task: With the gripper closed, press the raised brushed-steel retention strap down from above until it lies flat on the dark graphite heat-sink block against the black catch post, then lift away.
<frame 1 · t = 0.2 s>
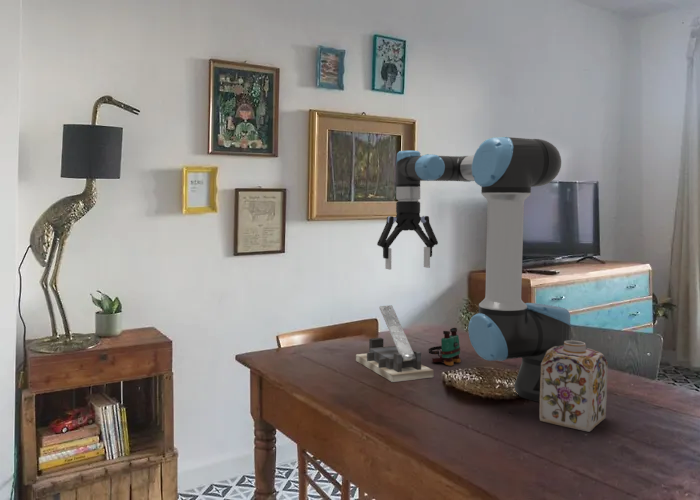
hand: (407, 268, 200), 28 cm above the table, tool pointing down, fingers open, 13 cm apart
retention strap: (397, 332, 184), point 11 cm above the table, hinge at 40.0°
decorative jar: (572, 421, 144), on the table
heatsink mount: (392, 368, 188), on the table
binoculars: (443, 362, 196), on the table
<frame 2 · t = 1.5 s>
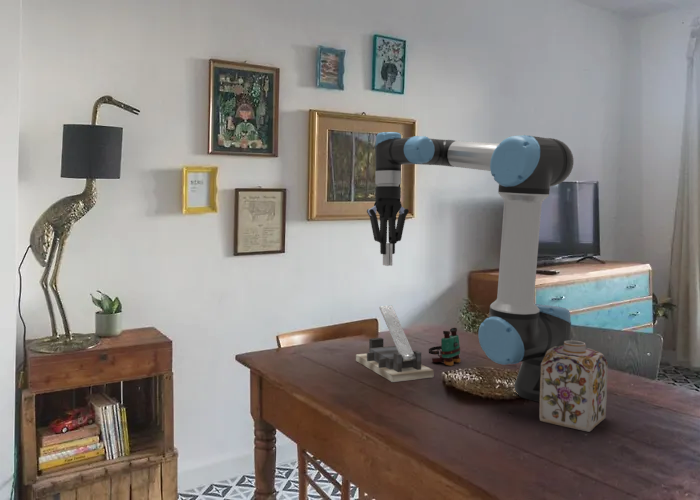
hand: (387, 265, 189), 30 cm above the table, tool pointing down, fingers closed
nothing on the table moved.
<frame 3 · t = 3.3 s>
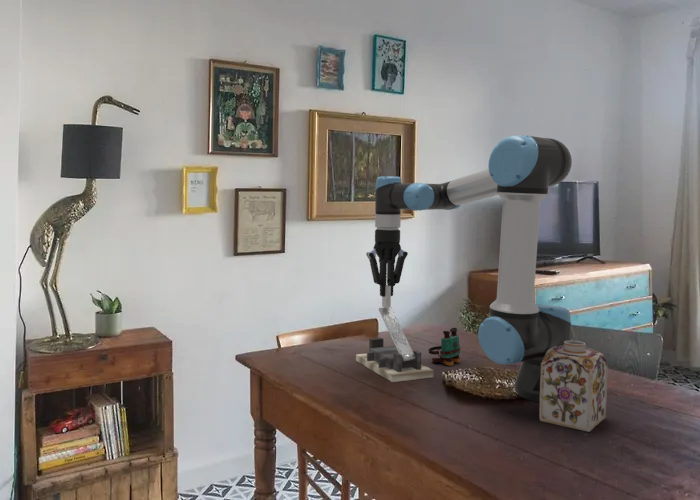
hand: (386, 307, 191), 18 cm above the table, tool pointing down, fingers closed
retention strap: (396, 333, 185), point 11 cm above the table, hinge at 37.6°, touching gripper
everything else where it was.
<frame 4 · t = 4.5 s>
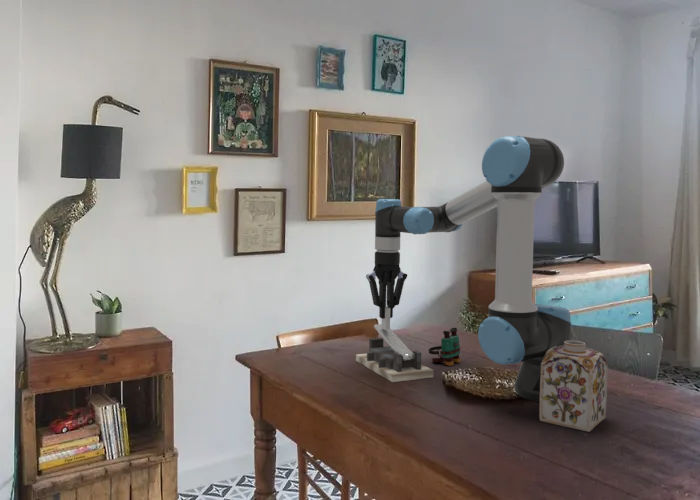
hand: (385, 328, 191), 11 cm above the table, tool pointing down, fingers closed
retention strap: (393, 341, 187), point 8 cm above the table, hinge at 17.2°, touching gripper
everything else where it was.
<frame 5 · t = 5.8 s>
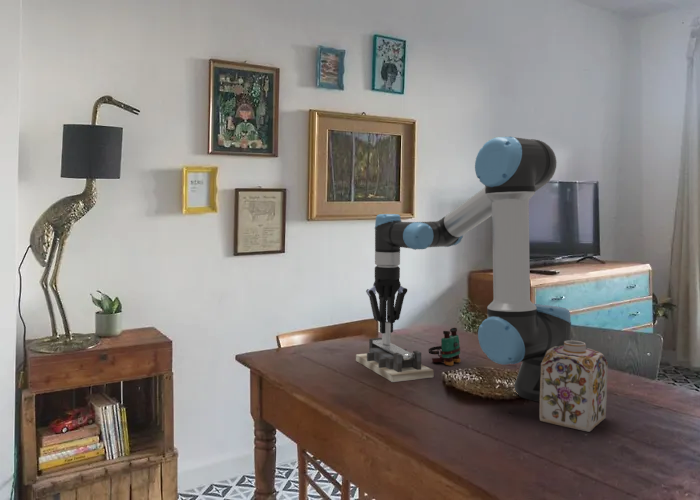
hand: (386, 343, 191), 7 cm above the table, tool pointing down, fingers closed
retention strap: (393, 348, 187), point 6 cm above the table, hinge at 1.5°, touching gripper
everything else where it was.
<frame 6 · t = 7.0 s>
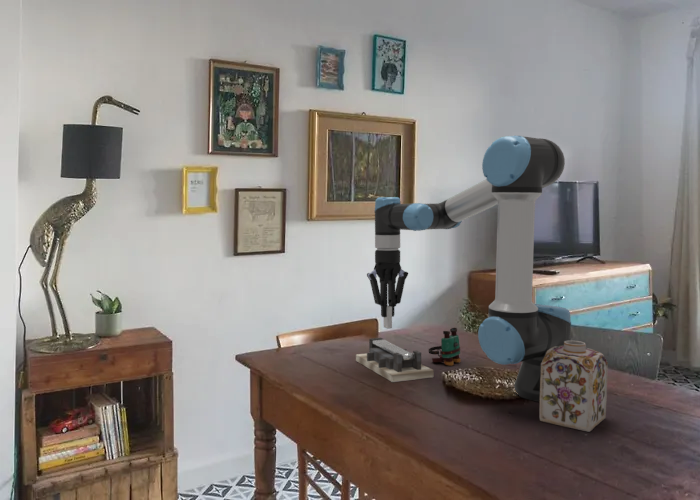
hand: (387, 327, 190), 12 cm above the table, tool pointing down, fingers closed
retention strap: (393, 348, 187), point 6 cm above the table, hinge at 1.3°
everything else where it was.
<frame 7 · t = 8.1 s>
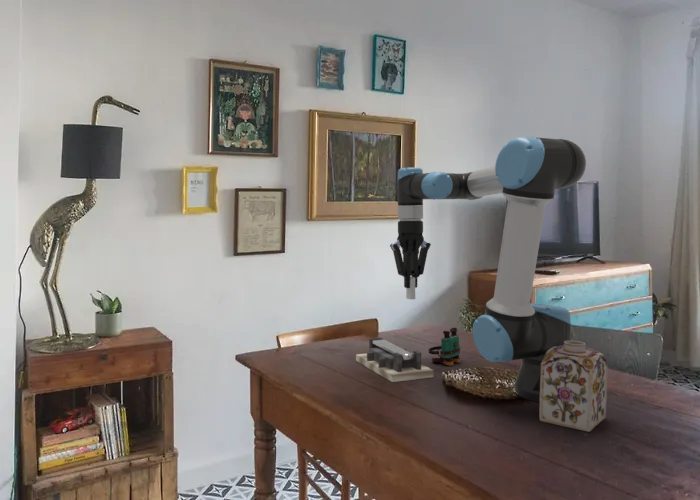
hand: (410, 298, 190), 20 cm above the table, tool pointing down, fingers closed
nothing on the table moved.
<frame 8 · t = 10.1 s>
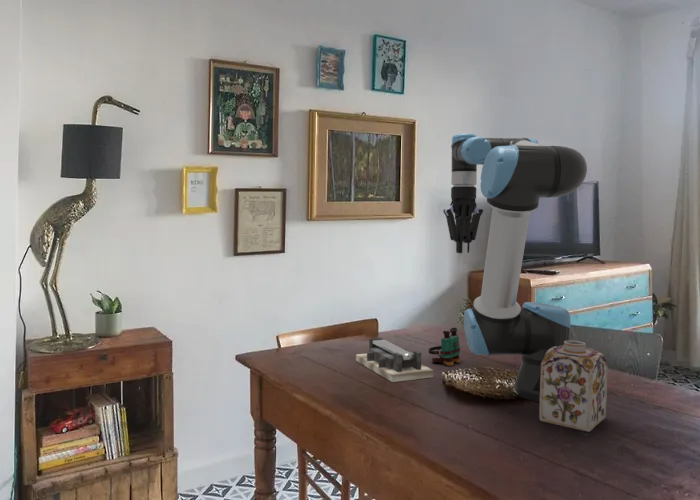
hand: (462, 263, 193), 30 cm above the table, tool pointing down, fingers closed
nothing on the table moved.
at the end: retention strap at +1° (first picture: +40°); binoculars moved 0.3 cm from its start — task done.
